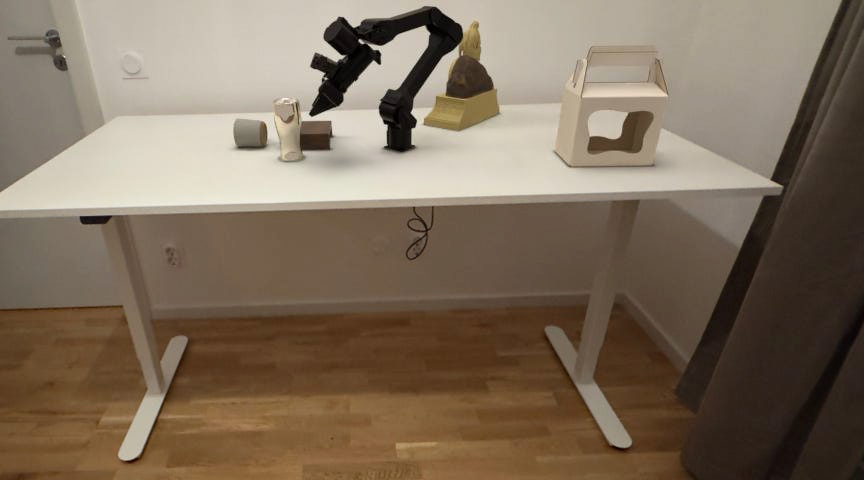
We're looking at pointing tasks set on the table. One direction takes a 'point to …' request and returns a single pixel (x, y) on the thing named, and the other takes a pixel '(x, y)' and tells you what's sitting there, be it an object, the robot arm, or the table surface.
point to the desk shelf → (316, 135)
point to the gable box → (632, 97)
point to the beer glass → (288, 128)
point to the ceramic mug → (250, 133)
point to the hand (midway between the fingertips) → (311, 111)
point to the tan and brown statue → (465, 89)
